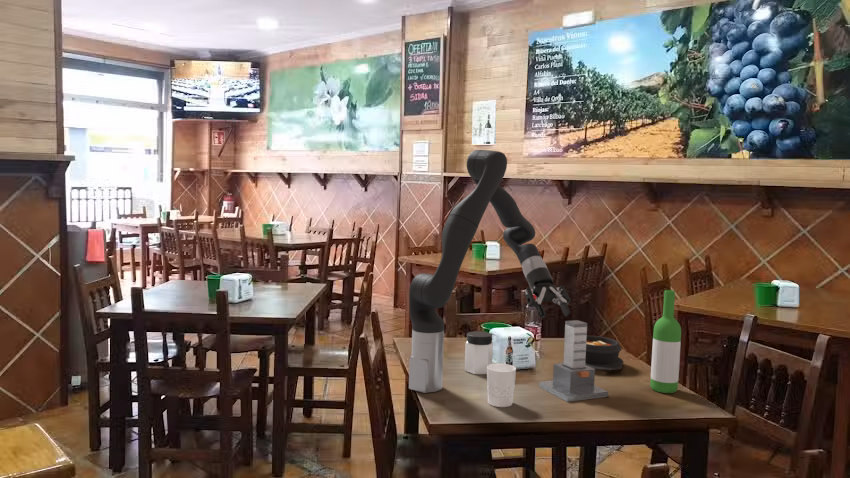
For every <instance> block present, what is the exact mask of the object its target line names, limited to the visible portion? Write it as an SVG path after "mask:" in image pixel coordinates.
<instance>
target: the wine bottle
mask: <svg viewBox="0 0 850 478" xmlns="http://www.w3.org/2000/svg"><path fill="white" fill-rule="evenodd" d="M663 293H664V295H663V305H662V306H663V309H662V317H660V318H658V320H657V321H656V322H655V324H654V326H653V335H652V350H651V365H650V367H651V368H650V381H649V383H650V388H651V389H652V390H653V391H654V392H658V393H661V394H674V393H676V392H677V391H678V389H679V388H678V387H679V376H680V375H679V374H680V373H679V372H680V359H681V357H680V356H681V342H682V338H681V337H682V327H681V325H680V323H679V322H678V320H677V319H676V318H675V317H674V315H675V301H676V300H675V297H676V296H675V294H676V291H675V290H673V289H665V290H664V292H663Z"/></svg>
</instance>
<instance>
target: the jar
mask: <svg viewBox="0 0 850 478" xmlns="http://www.w3.org/2000/svg"><path fill="white" fill-rule="evenodd" d="M464 349H465V350H464V351H465V352H464V372H467V373H469V372H470V373H469V374H472V375H487V366H488V365H490V364H493V354H494V353H493V352H494V341H493V334H492V333H490V332H488V331H479V330H478V331H477V330H476V331H475V330H474V331H469V332H467V333H466V342H465V346H464Z"/></svg>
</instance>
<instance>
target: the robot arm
mask: <svg viewBox="0 0 850 478" xmlns="http://www.w3.org/2000/svg"><path fill="white" fill-rule="evenodd" d="M507 168H508V159H507V155H505V154H504V153H503V152H502V151H498V150H488V149H475V150H472V151H471V152H470V153H469V155H468V156H467V159H466V170H467V172H468V175H469V176H470V178H471V180H473V181H474V183H475V184H476V187H474V189H473V190H472V191H471V192H470V193H469V194H468V195H467V196H466V197H464V198H463V199H462V200H461V201H459V203H457V204H456V205H455V206H454V207H453V209H452V210H451V211H450V213H449V215H448V217H447V220H446V221H445V223H444V226H443V229H442V232H441V245H442V246H441V251H442V252H441V258H440V261H439V263H438V266H437V268H436V270H435V272H434V274H431V273H419V274H417V275H415V277H414V278H413V279H412V280H411V283H410V285H409V292H408V293H409V294H408V295H409V298H408V300H409V301H408V303H409V319H410V321H411V325H412V327H411V329H412V330H411V331H412V333H411V356H409V364H408V365H409V367H408V368H409V371H408V389H409V390H412V391H416V392H420V393H423V394H427V393H434V392H439V391H441V390H442V389H443V378H444V377H443V376H444V375H443V374H444V373H443V371H444V343H445V342H444V341H445V321H444V319H443V318H442V317H441V316H440V315H439V314H438V312H437V310H438V309H441V308H443V307H444V306H445V305H446V304H447V303H448V302H449V300H450V298H451V296H452V293H453V290H454V287H455V285H456V281H457V279H458V275H459V272H460V269H461V267H462V265H463V261H464V260H465V257H466V255H467V252H468V250H469V247H470V245H471V243H472V242H473V239H474V238H475V235H476V233H477V231H478V228H479V225H480V223H481V221H482V218H483V216H484V214H485V211H486V210H487V208H488V206H489V203H490V204H491V206H492V207H493V209H494V210H495V213H496V214H497V217H498V218H499V221H500V223H501V225H502V226H503V227H505V229H504V231H503V232H502V238H503V241H504V242H505V244H506V246H508V247H509V248H510V250H512V251H513V252H514V254H515V255H516V258H517V259H518V261H519V263H520V266H521V267H522V272H523V275H524V277H525V280H526V281H527V283H528V286H527V287H526V289H524V291H523V294H524V297H525V300H526V302H527V306H528V307H530V308H532V307H533V308H534V309H536V312H537V314H538V316H539V317H540V319H545V317H546V316H547V312H546V310H545V307H544V306H543V304H542V302H553V303H554V304H557V305H558V306H560V309H561V312H562V314H563V316H564V317H569V315H570V314H571V310H570V307H569V303H570V302H571V301H572V299H571V296H570V295H569V293H568V292H567V289H566V287H565V286H564V285H560V286H559V287H558V286H557V287H556V285H554V279H553V277H552V274H551V273H550V270H549V268H548V267H547V264H546V262H545V260H543V258H542V256H541V253H540V251H539V249H538V247H537V246H536V245H535V244H533V243H528V242H530V241H532V240H533V239H534V238H535V236H536V229H535V227H534V225H533V224H532V223H531V222H530V221H529V220H528V219H526V217H524V215H523V214H522V212H521V211H520V208H519V206H518V204H517V202H516V200H515V199H514V197H513V196H512V195H511V194H510V193H509V192H508V191H507V190H506V189H505V188H503V186H501V185H500V184H501V182H502V181H503V178H504V176H505V174H506V172H507ZM535 297H536V298H535ZM436 309H437V310H436Z"/></svg>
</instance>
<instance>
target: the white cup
mask: <svg viewBox="0 0 850 478" xmlns="http://www.w3.org/2000/svg"><path fill="white" fill-rule="evenodd" d="M516 374H517V368H516V366H514V365H511V364H507V363H492V364H490V365H488V366H487V374H486V387H487V388H486V389H487V390H486V391H487V404H489V405H490V406H492V407H498V408H507V407H511V406H512V405H513V401H514V393H515V385H516V376H517V375H516Z"/></svg>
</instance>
